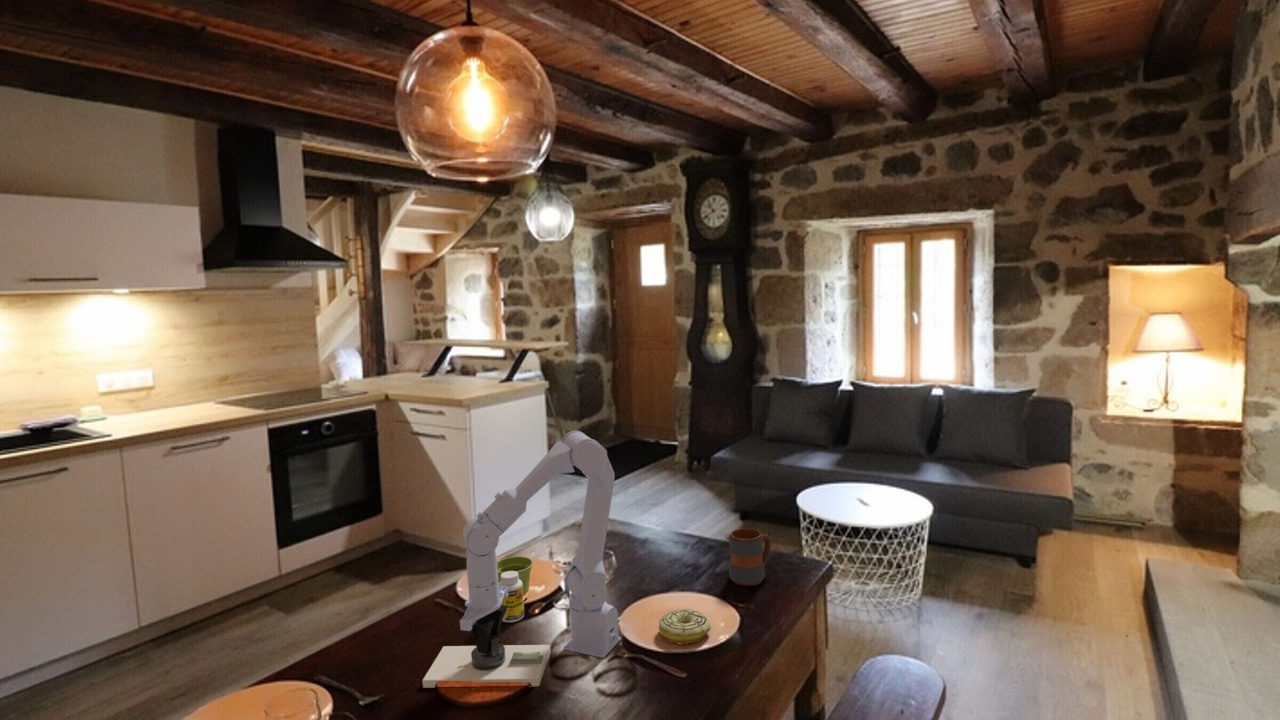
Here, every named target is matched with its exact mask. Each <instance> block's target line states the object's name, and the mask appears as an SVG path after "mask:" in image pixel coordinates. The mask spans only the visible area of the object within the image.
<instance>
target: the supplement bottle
mask: <svg viewBox="0 0 1280 720" xmlns="http://www.w3.org/2000/svg"><path fill="white" fill-rule="evenodd" d="M499 586H501V587H508V597H507V598H503V601H502V604H501V605H506V607H507V610H506V612H505V615H504V617H503V620H502V623H503V622H504V623H515V622H518V621H520V620H522V619H523V618H524V617H525V604H524V602H525V601H524V600H523V583H522V581H521V580H519V575H518V572H516V571H507V572H504V573H502V574H501V582H500V583H499Z"/></svg>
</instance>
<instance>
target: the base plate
mask: <svg viewBox="0 0 1280 720" xmlns="http://www.w3.org/2000/svg"><path fill="white" fill-rule="evenodd" d="M502 645H503V646H504V647H505V661H504V663H503V664H502V665H500V666H499V667H496V668H494V669H490V670H479V669H476V668H474V667H473V666H472V657H471V653H472V651H473V649H474V648H476V645H454V646H453V645H448V646H447V645H446V646H445V645H444V646H442V648H441V650H440V652H439V653H438V655H437V656H436V658H435V659H434V660H433V663H432V664H431V666H430V668H429V669H428V671H427V672H426V674H425V676H424V677H423V679H422V688H423V689H424V688H425V689H428V688H429V689H431V688H433V689H434V688H435V685H436V683H437V682H438V681H472V682H479V681H480V682H481V681H482V682H530V683H531V685H532V686H531V687H540V685H541V681H542V678H543V675H544V672H545V670H546V667H547V663H548V660H549V658H550V654H551V645H550V644H525V645H524V644H517V645H516V644H507V645H504V644H502Z"/></svg>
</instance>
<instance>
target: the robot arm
mask: <svg viewBox="0 0 1280 720" xmlns="http://www.w3.org/2000/svg"><path fill="white" fill-rule="evenodd" d="M574 467H576V468H577V469H579V470H580V471H581V472H582V474H583V475H584V476H585V477H586V478H587V488H586V494H585V500H584V507H583V508H584V509H583V514H582V520H581V528H580V535H579V542H578V547H577V548H578V549H577V554H576V555H575V556H574V557H573V558H572V560H571V561H572V562H571V565H570V567H569V569H568V570H567V573H566V576H565V579H564V580H565V582H564V583H565V586H566V589H568V590H569V592H570V598H569V601H568V603H569V620H570V621H569V622H570V639H569V641H568V642H566V644H565V645H563V647H562V649H563V650H565V651H569V652H574V653H578V654H583V655H588V656H592V657H597V658H600V659H601V658H602V659H604V658H605V657H606V656H607V655H608V654H609V653H610V651H612V649H614V647H615V646H616V645H617V644H618V643H619V641H621V639H622V637H621V636H620V635H619V633H620V631H619V613H618V609H617V608H616V606H613V605H610V604H609V603H608V602H606V601H607V598H608V588H607V585H606V577H607V576H606V575H607V574H606V569H605V565H604V561H603V559H604V553H605V545H606V539H607V531H608V525H609V519H610V512H611V506H612V499H613V498H612V497H613V491H614V485H615V479H616V478H615V477H616V476H615V475H616V474H615V472H614V469H613V467H612V464H611V462H610V460H609V457H608V450H607V449H606V448H605V447H604V446H603V445H602V444H600V443H599V441H597V440H595V439H592V438H590V437H589V436H588V435H586V434H585V433H584V432H582V431H580V430H572V431H569V432H567V433H566V434H564V436H563V437H562V438H561V440H558V441H557V442H555V443H554V445H553V446H552V447H551V448H550V450H549V451H548V453H546V455H545V456H544V457H543V458H542V459H541V460H540V461H539V462H538V464H537V465H535V467H534V468H533V469H531V471H530V472H529V473H528V474H527V476H526V477H525V478H524V479H523V480H521V482H520V483H519V484H518V485H517V486H516V487H515V488H513V489H512V488H511V489H505V490H504V491H503V492H502V493H501V492H497V493H496V494H495V495H494V501H492V503H490V505H488V506H487V508H485V509H483V511H482V512H481V511H479V512H478V513H477V514H476V518H472V519H470V520H469V521H467V523H466V524H465V525H464V527H463V528H464V529H463V531H462V533H461V538H462V539H463V541H464V542H465V544H466V547H465V548H466V552H465V553H466V554H465V555H466V563H465V564H466V574H467V587H468V588H467V589H468V598H469V599H467V600H466V601H465V602H464V606H465V607H467V608H466V610H465V612H464V614H463V616H462V617H461V619H459V627H460V631H467V632H470V634H471V636H472V638H473V641H474V644H475V646H476V647H477V649H478V652H479V653H486V654H487V653H489V646H490V636H491V633H492V634H494V635H496V636H497V637H500V632H501V627H502V624H503V621H502V620H503V617H504V615H505V612H506V610H507V607H506V605H501V604H502V601H503V598H507V597H508V587H501V586H499V582H498V568H497V561H498V556H497V555H496V554H497V553H496V549H497V547H498V545H499V541H500V540H499V539H500V537H501V536H502V535H503V534H504V533H506V531H507V530H508V529H510V527H511V526H512V525H514V524H515V522H516V521H517V520H518V519H519V518H520V517H521V516H523V514H524V513H525V512H526V511H527V505H528V501H529V500H530V499H531V498H532V497H534V496H535V495H536V494H537V493H538V492H539V491H540V490H542V488H544V486H546V485H547V484H548V483H549V482H550V481H551V480H552V479H553V478H554V477H555V476H556V475H558V474H559V475H560V474H571V473H575V469H574Z"/></svg>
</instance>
